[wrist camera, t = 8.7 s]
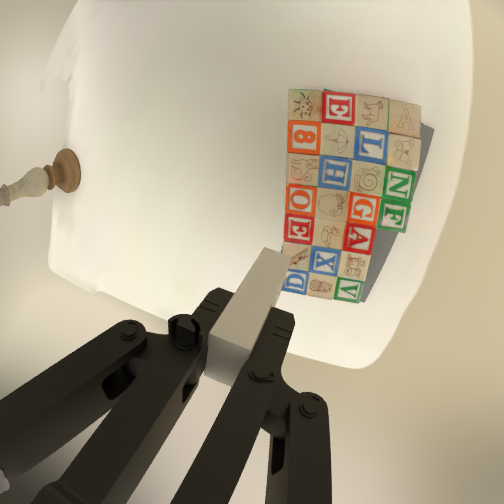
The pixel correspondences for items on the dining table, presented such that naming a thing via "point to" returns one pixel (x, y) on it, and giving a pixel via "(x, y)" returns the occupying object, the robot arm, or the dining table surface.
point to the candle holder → (45, 179)
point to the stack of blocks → (345, 186)
